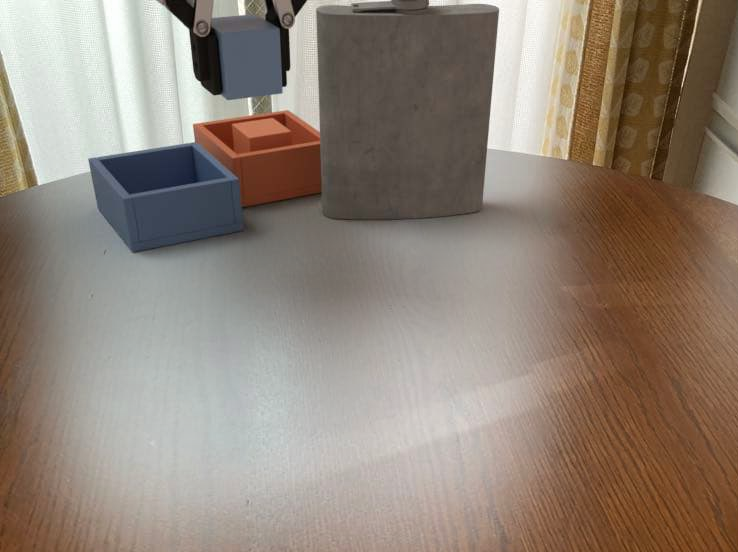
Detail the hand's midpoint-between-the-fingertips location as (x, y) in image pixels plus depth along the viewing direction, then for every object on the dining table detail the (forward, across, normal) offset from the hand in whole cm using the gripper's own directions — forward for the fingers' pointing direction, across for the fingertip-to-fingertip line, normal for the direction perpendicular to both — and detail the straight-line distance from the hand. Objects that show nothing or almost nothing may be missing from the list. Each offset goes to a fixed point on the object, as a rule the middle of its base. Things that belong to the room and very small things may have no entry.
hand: (243, 83), depth 71 cm
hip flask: (+15, -17, -5) cm, 23 cm away
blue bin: (+15, +4, -12) cm, 20 cm away
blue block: (0, 0, 0) cm, 0 cm away
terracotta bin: (+15, -8, -18) cm, 25 cm away
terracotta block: (+14, -8, -18) cm, 24 cm away
